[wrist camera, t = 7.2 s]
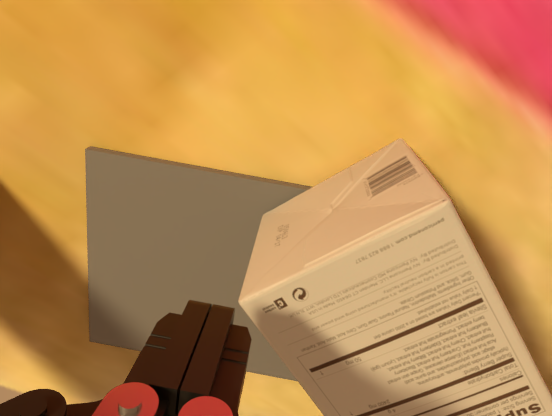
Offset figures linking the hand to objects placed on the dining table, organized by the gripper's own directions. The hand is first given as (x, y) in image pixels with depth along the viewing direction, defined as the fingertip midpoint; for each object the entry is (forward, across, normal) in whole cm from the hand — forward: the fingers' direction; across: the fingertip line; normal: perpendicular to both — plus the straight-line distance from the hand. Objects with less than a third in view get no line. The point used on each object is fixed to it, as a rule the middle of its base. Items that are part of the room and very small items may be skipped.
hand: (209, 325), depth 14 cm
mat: (+12, 0, +6) cm, 13 cm away
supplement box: (+7, -4, -2) cm, 8 cm away
